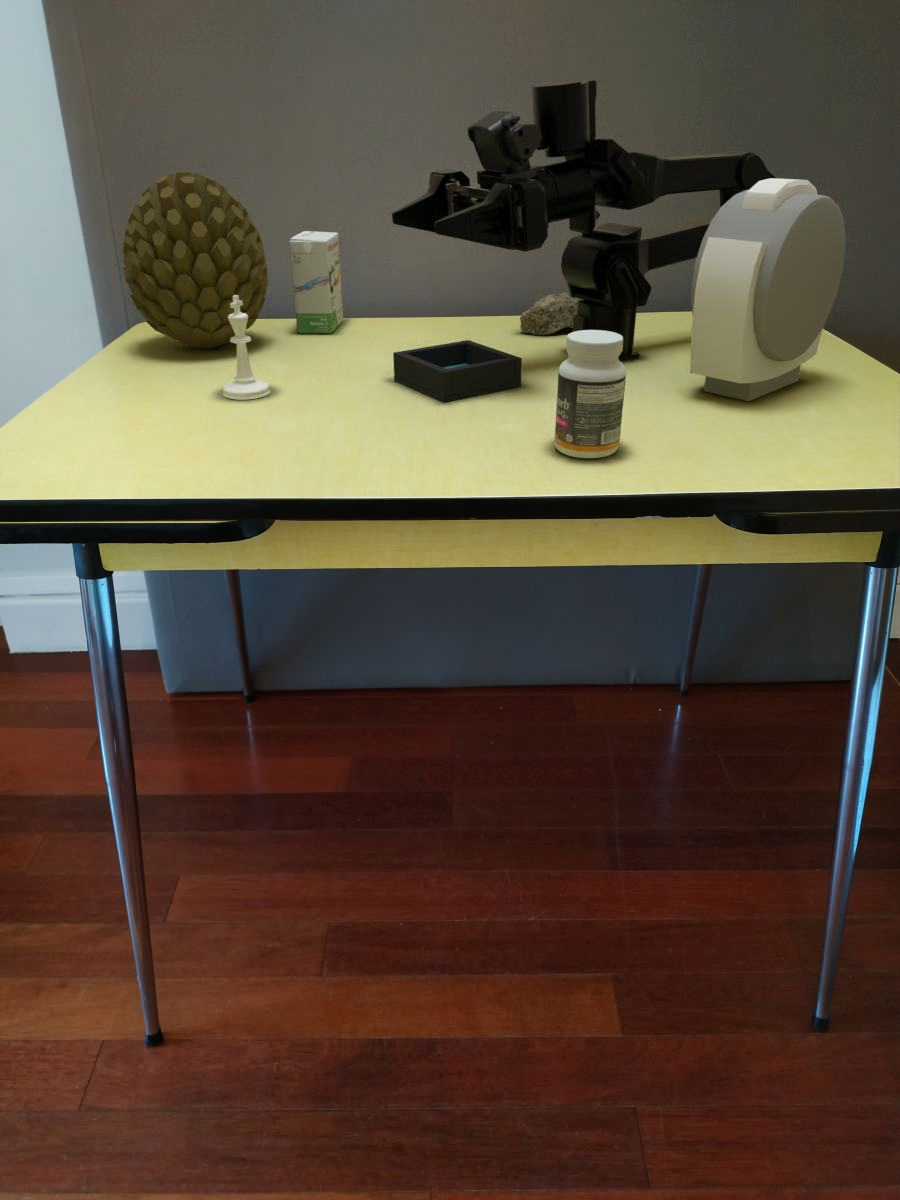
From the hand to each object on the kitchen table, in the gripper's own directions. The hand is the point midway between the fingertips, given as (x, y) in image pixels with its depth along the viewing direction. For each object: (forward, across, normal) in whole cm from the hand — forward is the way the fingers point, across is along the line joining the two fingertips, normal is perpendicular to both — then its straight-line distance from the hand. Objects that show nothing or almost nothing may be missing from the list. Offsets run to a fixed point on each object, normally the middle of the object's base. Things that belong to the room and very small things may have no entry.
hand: (413, 223), depth 91 cm
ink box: (0, -32, +17) cm, 36 cm away
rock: (-26, -15, +20) cm, 35 cm away
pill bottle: (-1, +26, +17) cm, 31 cm away
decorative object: (+16, -29, +15) cm, 37 cm away
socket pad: (-2, +2, +17) cm, 17 cm away
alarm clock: (-28, +19, +20) cm, 40 cm away
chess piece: (+19, -6, +14) cm, 25 cm away
